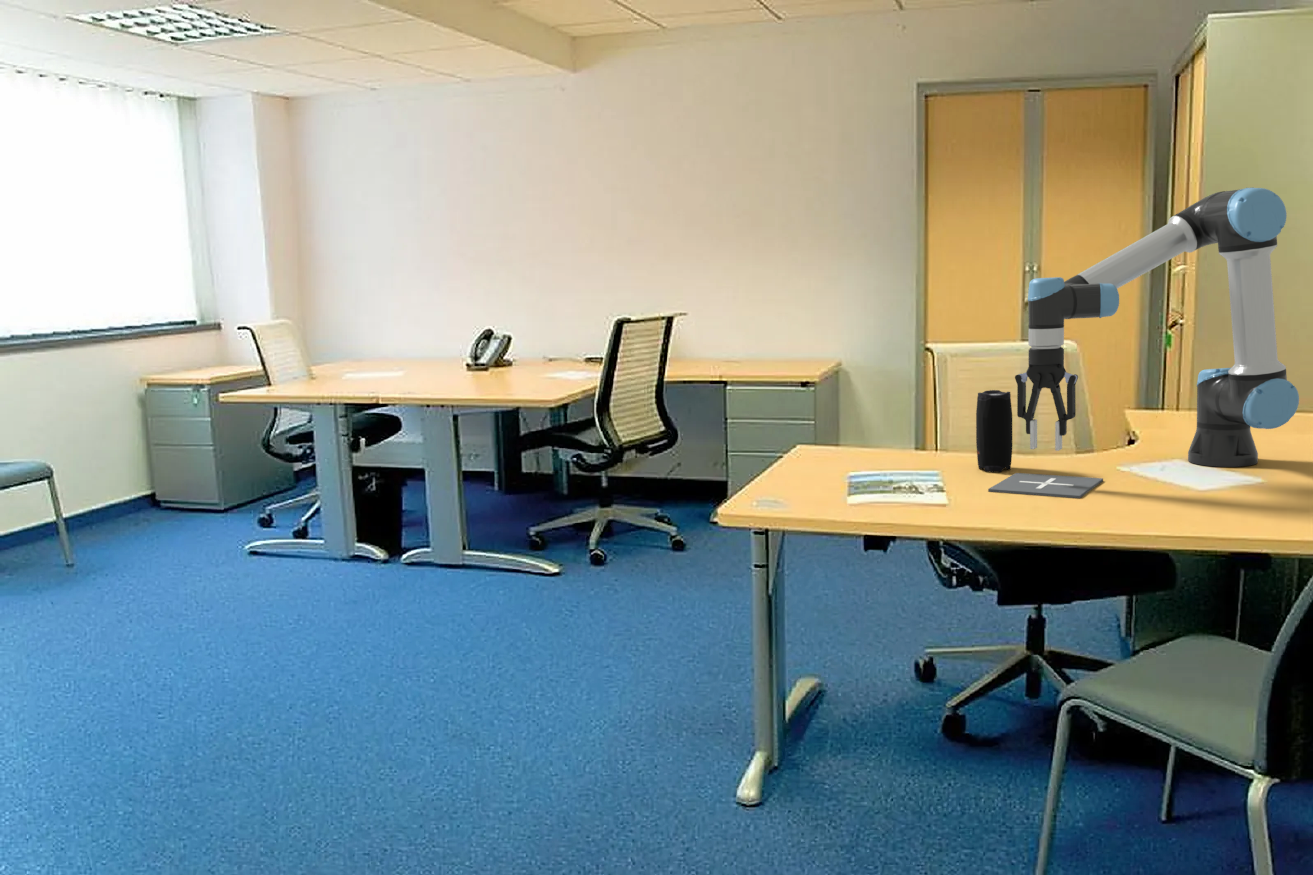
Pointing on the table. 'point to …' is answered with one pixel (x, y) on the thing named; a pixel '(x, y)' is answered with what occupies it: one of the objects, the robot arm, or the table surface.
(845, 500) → the table surface
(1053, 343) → the robot arm
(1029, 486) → the pad
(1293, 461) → the table surface
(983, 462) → the portable speaker
